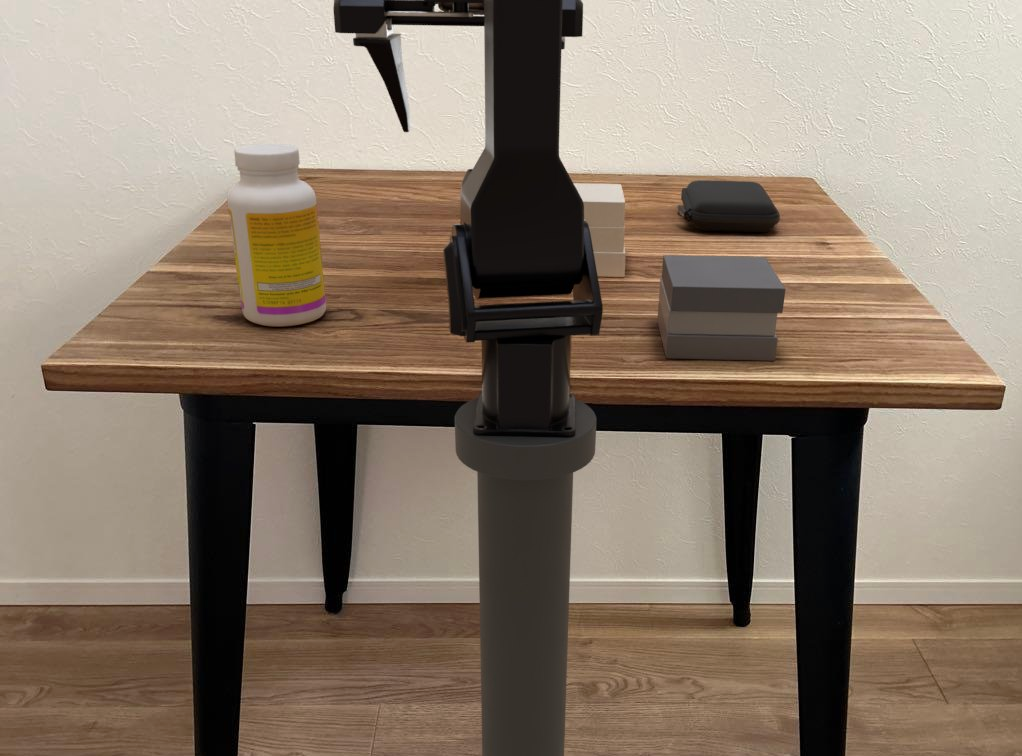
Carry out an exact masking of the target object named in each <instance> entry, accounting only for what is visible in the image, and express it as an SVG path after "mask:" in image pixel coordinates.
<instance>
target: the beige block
mask: <svg viewBox="0 0 1022 756" xmlns="http://www.w3.org/2000/svg"><path fill="white" fill-rule="evenodd" d="M589 229H590V234H591V240H592V246H593V252H594V258H595V264H596V270H597V276H598V278H599V277H600V278H601V277H602V278H603V277H605V278H624V277H625V276H626V256H627V254H626V253H627V251H626V248H625V235H626V234H625V233H626V227H625V226H624V227H589Z"/></svg>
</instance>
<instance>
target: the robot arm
mask: <svg viewBox="0 0 1022 756" xmlns="http://www.w3.org/2000/svg"><path fill="white" fill-rule="evenodd" d="M436 5H437V7H438V9H439V11H437V10H435V6H436ZM332 10H333V23H334V33H336V34H355V37H353V38H352V43H353V46H354V47H364V48H365V49H366V51H367V53H368V54H369V56H370V58H371V60H372V62H373V64H374V66H375V68H376V69H377V72H378V73H379V75H380V77H381V79H382V81H383V83H384V86H385V88H386V91H387V92H388V95H389V98H390V101H391V103H392V106H393V108H394V112H395V113H396V116H397V119H398V121H399V123H400V126H401V129H402V131H403V132H404V133H409V132H410V130H411V118H410V117H411V115H410V113H411V112H410V105H409V97H408V91H407V85H406V83H407V82H406V77H405V70H404V63H403V55H402V34H401V33H394V29H395V28H396V26H436V27H437V26H440V27H442V26H443V27H483V28H484V30H483V31H484V35H483V36H484V39H483V40H484V41H483V42H484V135H485V136H484V137H485V138H484V149H483V150H482V152H481V154H480V155H479V157H478V159H477V161H476V163H475V165H474V166H473V168H469V169H467V170H466V172H465V175H464V176H463V178H462V181H461V184H460V187H461V190H460V194H459V195H460V197H459V199H460V201H459V202H460V205H459V207H460V209H459V213H460V214H459V215H460V216H459V217H460V218H459V220H460V221H459V222H460V223H454V224H452V226H451V235H450V236H449V241H448V243H447V245H445V247H444V248H443V250H442V254H443V264H444V273H445V284H446V294H447V303H448V325H449V333H450V334H451V335H454V336H459V337H463V339H464V341H465V343H476V341H481V344H480V345H481V392H480V393H479V394H478V397H479V398H478V397H477V398H478V404H477V409H476V414H475V420H474V425H473V433H474V434H475V435H477V436H511V437H559V438H571V437H574V436H575V432H576V424H575V399H576V396H575V394H574V393H571V363H572V362H571V361H572V336H583V335H584V336H587V335H589V336H590V337H594V336H599V335H600V332H601V326H602V319H603V312H604V305H603V299H602V295H601V287H600V283H599V277H598V276H597V270H596V264H595V258H594V252H593V246H592V240H591V234H590V229H589V226H588V223H587V221H586V220H584V203H583V200H582V198H581V197H580V195H579V193H578V191H577V189H576V187H575V185H574V184H573V183H574V182H573V180H572V178H571V177H570V174H569V173H568V171H567V169H566V167H565V165H564V163H563V161H562V159H561V157H560V125H561V123H560V122H561V121H560V119H561V84H562V80H561V79H562V78H561V77H562V51H563V50H565V49H566V38H581V37H583V27H584V26H583V25H584V20H583V19H584V2H583V0H333V9H332ZM571 294H572V300H558V301H538V302H521V303H520V302H518V303H517V302H516V303H495V304H477V305H475V300H476V301H482V300H485V301H486V300H503V299H504V300H505V299H523V298H547V297H563V296H564V297H565V296H568V297H569V296H570V295H571Z"/></svg>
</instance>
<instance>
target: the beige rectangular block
mask: <svg viewBox="0 0 1022 756" xmlns="http://www.w3.org/2000/svg"><path fill="white" fill-rule="evenodd" d="M573 184H574V185H575V187H576V189H577V191H578V193H579V195H580V197H581V198H582V200H583V203H584V220H586V221H587V223H588V226H589V227H625V217H626V199H625V196H624V191H623V187H622V184H621V183H591V182H590V183H589V182H588V183H586V182H584V183H583V182H582V183H581V182H573Z"/></svg>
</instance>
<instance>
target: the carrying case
mask: <svg viewBox="0 0 1022 756" xmlns="http://www.w3.org/2000/svg"><path fill="white" fill-rule="evenodd" d="M680 199H681V202H682V205H681V204H678V205H677V208H676V213H677V216H679V217H681V218H683V219H684V220H686V221H687V222H692V224H693V225H694V227H695V229H698V230H700V231H704V232H705V231H706V232H733V233H734V232H737V233H739V232H740V233H767V232H770V231H772V230H773V229H774V227H775V226H776V225H778V224H779V222H780V220H781V215H780V212H779V210H778V208H777V207H776V205H775V204H774V202H773V201H772V198H771V197H770V195H769V194H768V192H767V190H765V188H764V186H763V185H762V184H760V183H759V182H756V181H745V180H744V181H742V180H740V181H739V180H704V179H703V180H701V179H699V180H693V181H691V182H689V183H688V185H687V187H682V189H681V194H680Z"/></svg>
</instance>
